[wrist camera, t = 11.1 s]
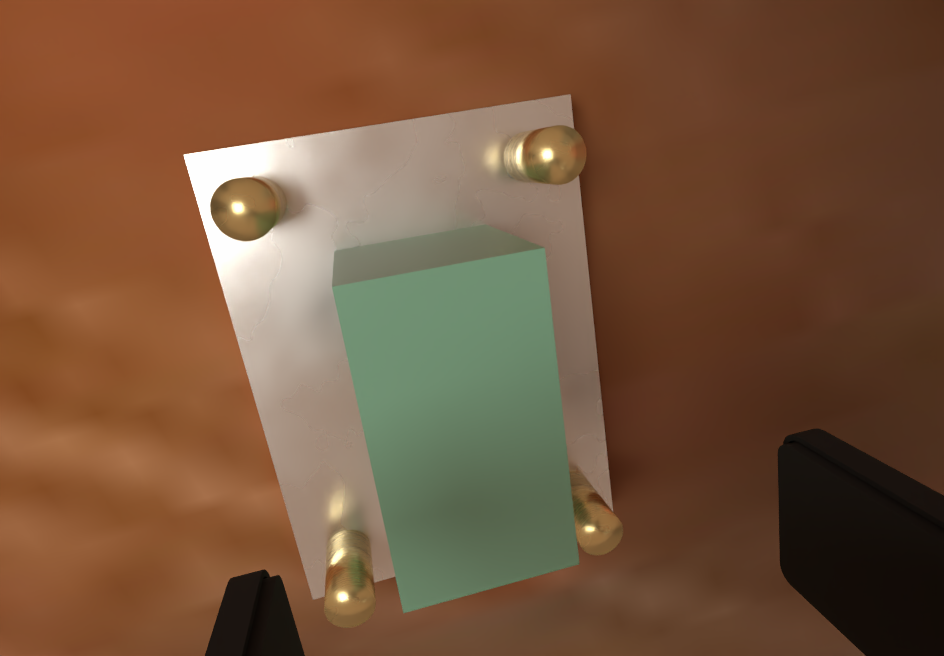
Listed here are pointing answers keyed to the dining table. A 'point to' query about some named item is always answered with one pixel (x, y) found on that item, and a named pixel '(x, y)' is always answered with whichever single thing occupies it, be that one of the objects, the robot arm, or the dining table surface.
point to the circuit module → (459, 408)
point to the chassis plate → (316, 318)
